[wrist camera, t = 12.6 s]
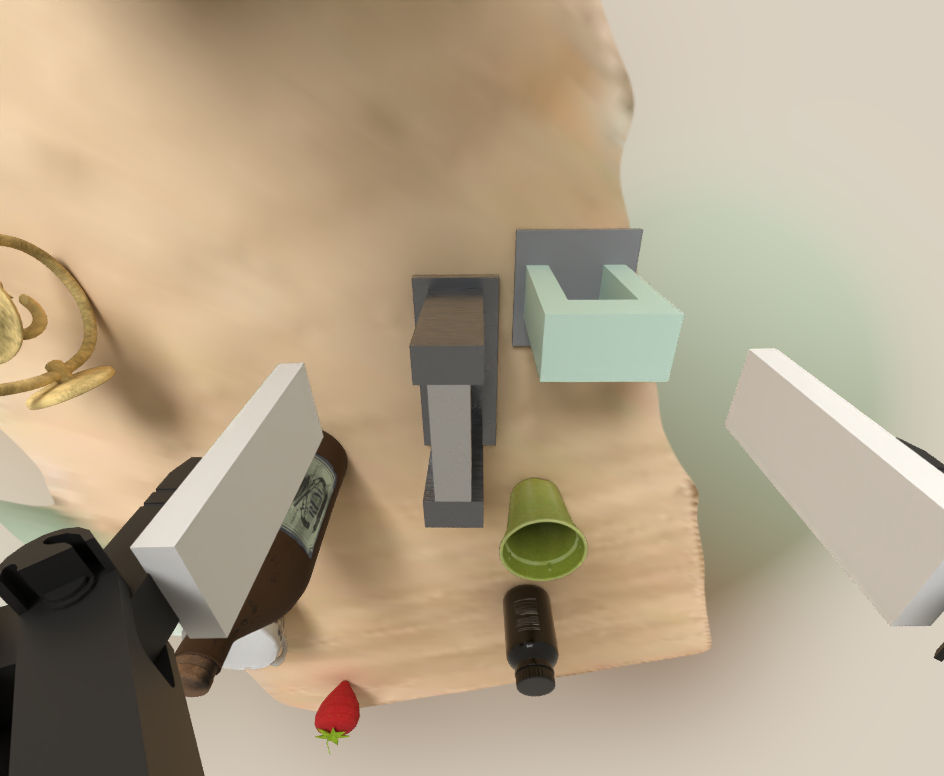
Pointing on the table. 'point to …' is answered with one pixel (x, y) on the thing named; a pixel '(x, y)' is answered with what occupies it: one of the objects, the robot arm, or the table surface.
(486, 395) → the stand
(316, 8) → the table surface
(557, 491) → the plant pot
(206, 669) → the olive oil
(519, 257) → the gray rectangular panel
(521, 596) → the supplement bottle
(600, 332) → the mint green u-shaped block
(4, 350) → the wall sconce
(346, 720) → the strawberry
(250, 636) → the teacup
